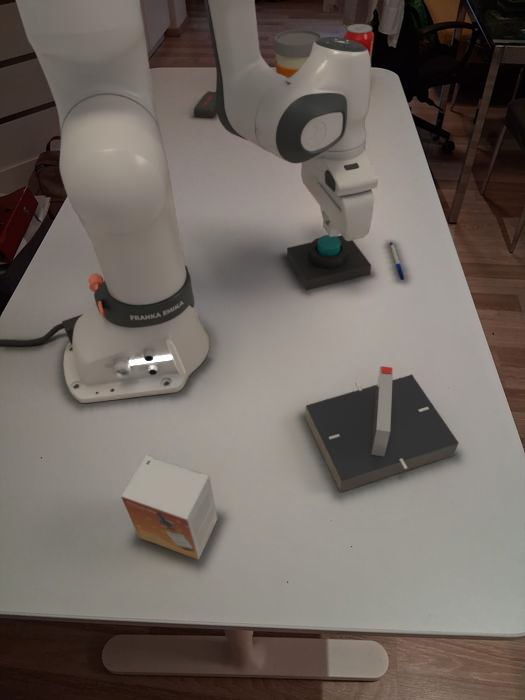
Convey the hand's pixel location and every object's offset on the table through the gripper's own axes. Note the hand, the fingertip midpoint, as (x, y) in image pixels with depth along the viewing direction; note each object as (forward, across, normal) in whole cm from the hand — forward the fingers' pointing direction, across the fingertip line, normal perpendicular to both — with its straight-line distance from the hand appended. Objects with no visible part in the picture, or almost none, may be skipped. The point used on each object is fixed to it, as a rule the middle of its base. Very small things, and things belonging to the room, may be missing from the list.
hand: (330, 231), depth 92 cm
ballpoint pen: (+8, +3, +12) cm, 15 cm away
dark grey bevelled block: (+7, -74, -3) cm, 74 cm away
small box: (+7, +40, -36) cm, 55 cm away
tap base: (+7, +36, -8) cm, 38 cm away
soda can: (+8, -71, +38) cm, 81 cm away
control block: (+7, 0, 0) cm, 7 cm away
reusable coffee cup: (+8, -71, +21) cm, 74 cm away
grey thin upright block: (+4, +36, -8) cm, 37 cm away
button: (+4, 0, 0) cm, 4 cm away
